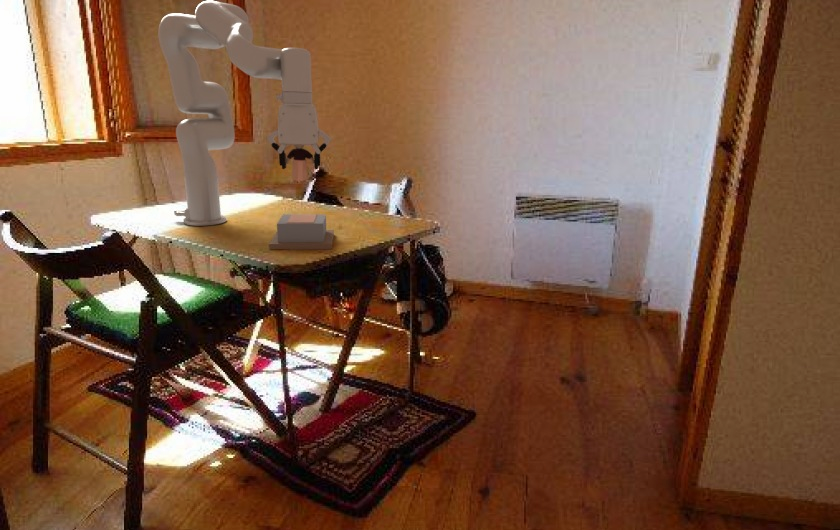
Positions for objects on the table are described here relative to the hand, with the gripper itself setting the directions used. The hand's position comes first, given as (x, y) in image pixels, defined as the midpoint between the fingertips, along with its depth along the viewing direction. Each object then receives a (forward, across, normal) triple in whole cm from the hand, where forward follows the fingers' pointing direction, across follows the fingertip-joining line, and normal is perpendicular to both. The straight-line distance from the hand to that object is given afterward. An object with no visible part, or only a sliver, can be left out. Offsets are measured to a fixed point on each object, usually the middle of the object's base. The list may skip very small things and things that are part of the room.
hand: (300, 168), depth 144 cm
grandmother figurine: (+4, 0, 0) cm, 4 cm away
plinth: (+20, 0, 0) cm, 20 cm away
